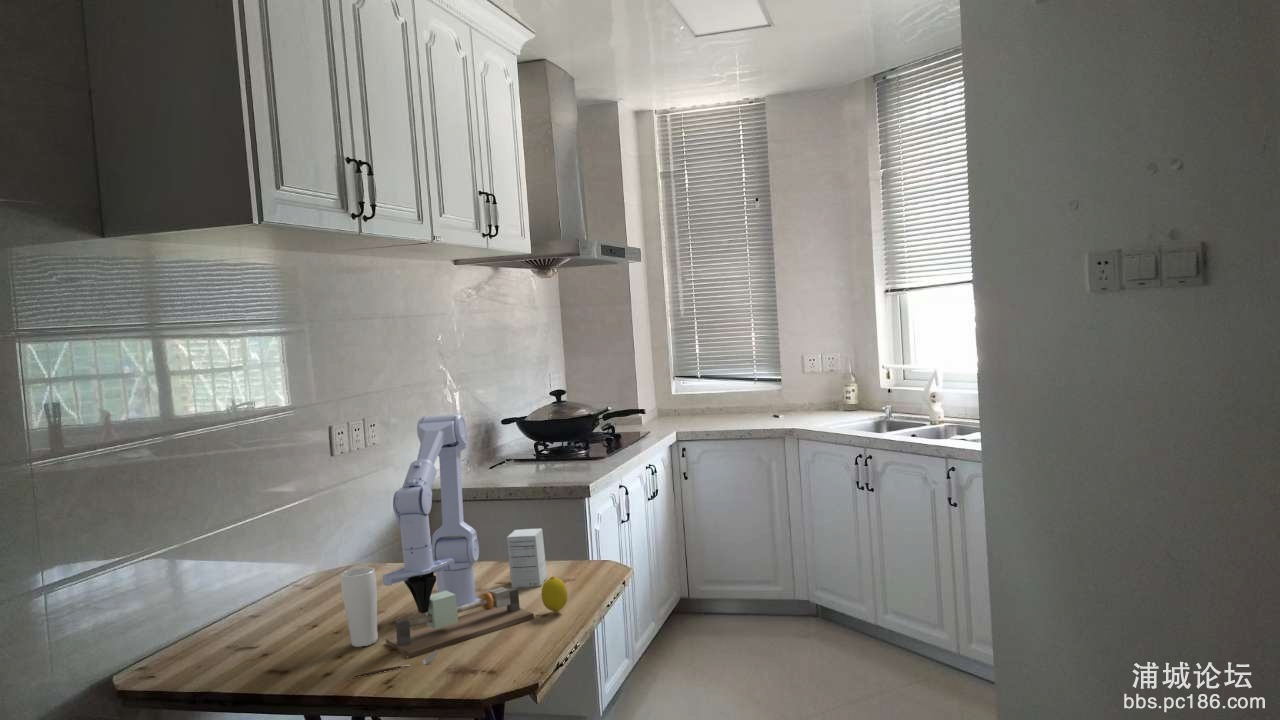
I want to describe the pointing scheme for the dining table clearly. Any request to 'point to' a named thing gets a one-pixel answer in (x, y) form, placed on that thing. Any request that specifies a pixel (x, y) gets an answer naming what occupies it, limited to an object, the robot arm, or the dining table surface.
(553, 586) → the lemon
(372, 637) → the drinking glass
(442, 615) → the pale green block
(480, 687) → the dining table surface
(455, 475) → the robot arm
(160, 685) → the dining table surface
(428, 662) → the fork
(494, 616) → the board
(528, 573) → the supplement box
